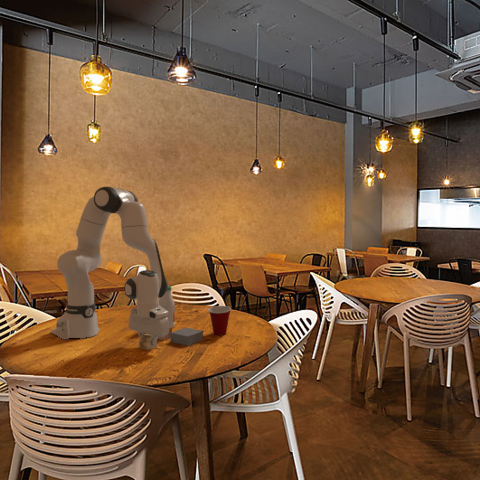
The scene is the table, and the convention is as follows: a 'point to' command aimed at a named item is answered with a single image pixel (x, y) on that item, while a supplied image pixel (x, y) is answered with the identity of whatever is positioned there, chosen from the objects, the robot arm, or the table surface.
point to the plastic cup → (219, 319)
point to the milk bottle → (168, 305)
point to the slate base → (186, 336)
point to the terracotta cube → (167, 335)
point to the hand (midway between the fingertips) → (148, 343)
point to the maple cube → (146, 342)
